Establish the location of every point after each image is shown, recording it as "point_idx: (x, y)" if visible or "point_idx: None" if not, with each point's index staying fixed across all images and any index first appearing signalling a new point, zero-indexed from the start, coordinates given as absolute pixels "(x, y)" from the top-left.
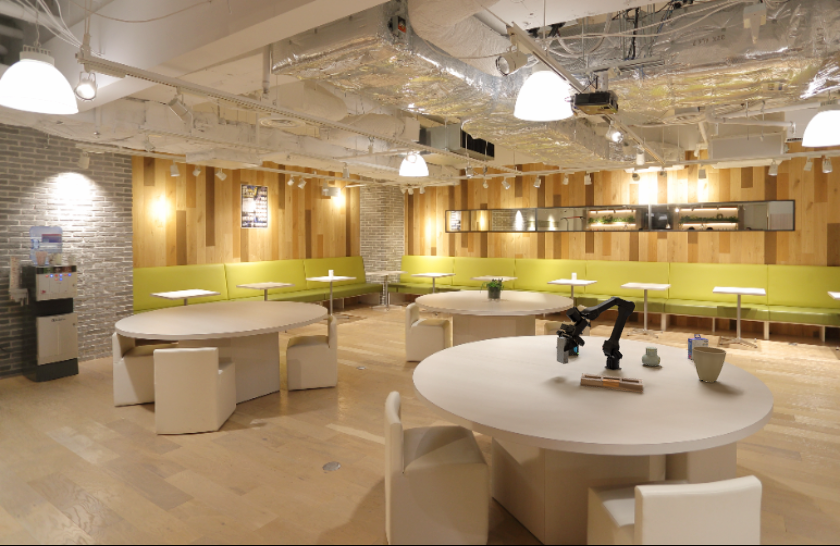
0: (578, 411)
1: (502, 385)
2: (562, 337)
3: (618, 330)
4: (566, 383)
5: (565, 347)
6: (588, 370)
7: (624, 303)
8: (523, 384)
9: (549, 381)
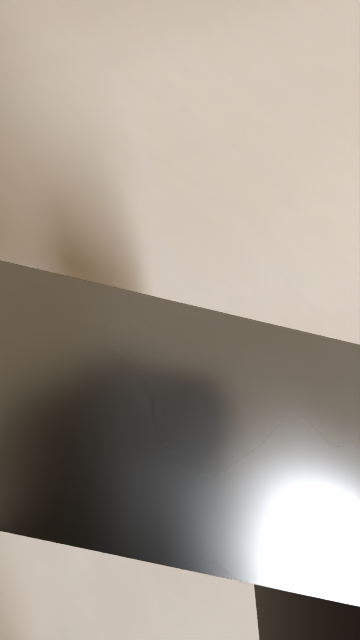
0: None
1: (188, 42)
2: (260, 520)
3: None
4: None
5: None
6: (120, 633)
7: None
8: (148, 106)
9: (109, 224)
